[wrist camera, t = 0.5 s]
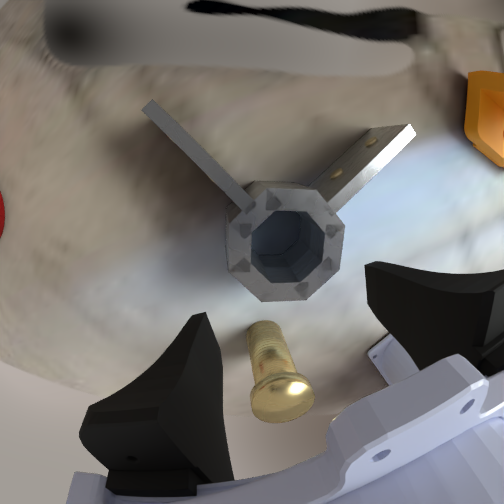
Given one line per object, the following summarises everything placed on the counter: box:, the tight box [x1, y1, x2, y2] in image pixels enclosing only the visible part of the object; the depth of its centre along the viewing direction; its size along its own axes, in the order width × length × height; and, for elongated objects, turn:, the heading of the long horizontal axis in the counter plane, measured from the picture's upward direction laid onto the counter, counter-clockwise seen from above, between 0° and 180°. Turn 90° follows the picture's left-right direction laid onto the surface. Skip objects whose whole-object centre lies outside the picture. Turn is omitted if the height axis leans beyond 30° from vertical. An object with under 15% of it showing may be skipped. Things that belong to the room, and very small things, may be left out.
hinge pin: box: [246, 320, 315, 423], centre depth 20 cm, size 4×4×8 cm
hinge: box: [142, 99, 416, 302], centre depth 17 cm, size 14×14×5 cm
